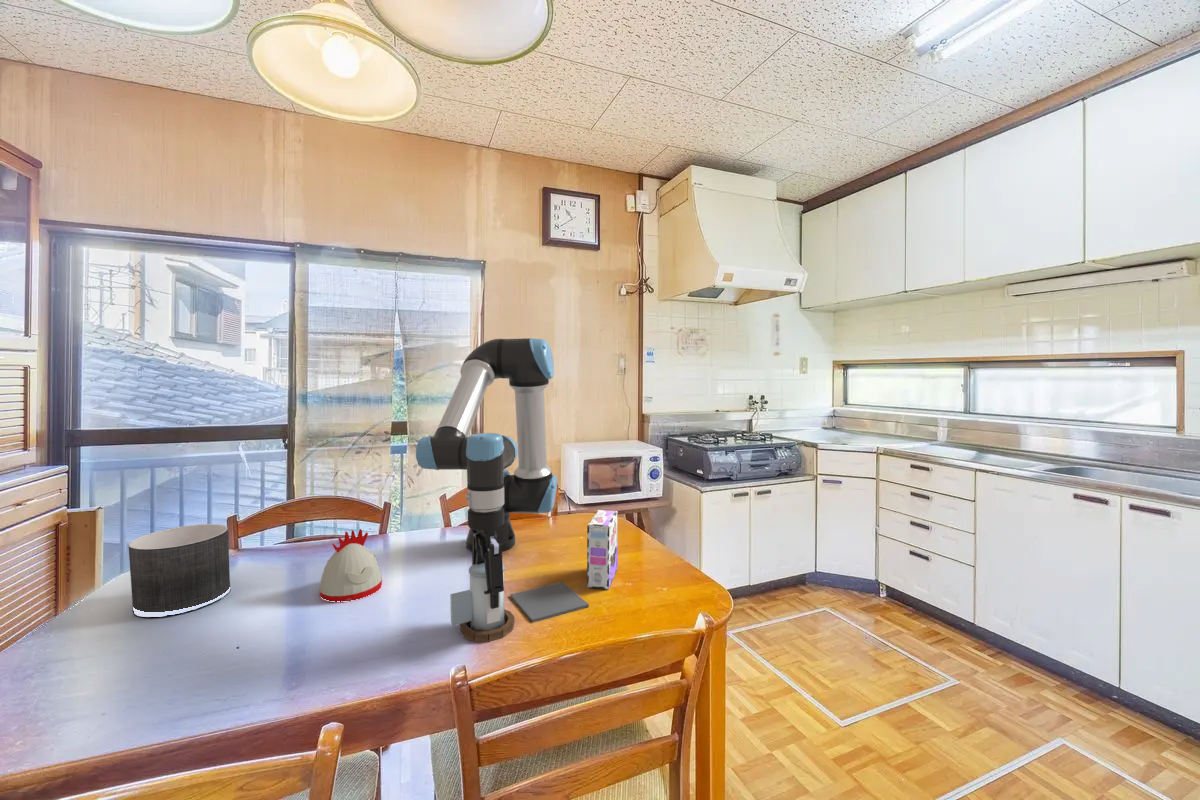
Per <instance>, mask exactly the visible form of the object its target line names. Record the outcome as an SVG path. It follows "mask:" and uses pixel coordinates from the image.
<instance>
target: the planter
mask: <svg viewBox="0 0 1200 800" xmlns="http://www.w3.org/2000/svg"><path fill="white" fill-rule="evenodd" d="M229 546H230V545H229V528H228V526H226V525H224V524H220V523H219V524H217V523H203V524H202V523H201V524H191V525H183V526H178V527H172V528H168V529H167V528H166V529H162V530H157V531H154V532H150V533H148V534H145V535H141V536H139V537H137V538H134V539H133V540H131V541H130V542H129V543H128V558H129V573H130V587H131V602H132V606H133V607H134V608H135V609H137V610H140V611H144V612H165V611H173V610H179V609H183V608H188V607H192V606H196V605H199V604H202V603H205V602H208V601H210V600H213V599H215V598H217V597H218V596H220V595H222V594H223V593H225V592H226V591H227V590H228V589H229V587H231V580H230V579H231V576H230V573H231V572H230V549H229Z"/></svg>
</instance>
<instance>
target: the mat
mask: <svg viewBox="0 0 1200 800" xmlns="http://www.w3.org/2000/svg"><path fill="white" fill-rule="evenodd" d="M509 595H510V596H509V597H510V599H512V601H513V602H514V603H515V604H516V605H517V606H518V607H519V609H520V610H521V611H522V612H523V613H524V615H525V616H526V617H527V618H528V619H529V620H530V621H531V623H535V622H539V621H542V620H546V619H550V618H553V617H557V616H560V615H564V614H567V613H571V612H575V611H579V610H582V609H585V608H589V605H590V604H589V603H588V602H587V601H586V600H584V599H583V598H582V597H581V596H580V595H579V594H577V593H576V592H575V591H574V590H573V589H572V588H570V587H569V586H568V585H567V584H565V582H564V581H560V582H556V583H555V582H554V583H551V584H548V585H544V586H539V587H535V588H530V589H526V590H523V591H519V592H515V593H510V594H509Z"/></svg>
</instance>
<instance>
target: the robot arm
mask: <svg viewBox="0 0 1200 800" xmlns="http://www.w3.org/2000/svg"><path fill="white" fill-rule="evenodd" d="M554 365H555V364H554V358H553V353H552V349H551V345H550V344H549V342H548V341H547V340H545V339H542V338H533V337H530V338H494V339H490V340H488V341H486V342H484V343H482V344H480V345H479V346H477V347H476V348H475V349H474V350H472V351H471V352H470V353H469V354H468V355H467V356H466V358H465V359H464V361H463V363H462V365H461V367H460V371H459V372H460V378H459V381H458V383H457V385H456V387H455V389H454V391H453V393H452V396H451V398H450V400H449V402H448V405H447V407H446V409H445V411H444V414H443V415H442V417H441V419H440V422H439V424H438V426H437V429H436V431H435V433H434V434H433V436H431V435H429V436H423V437H421V438H420V439H419V440H418V442H417V444H416V446H415V447H416V448H415V459H416V462H417V465H418V466H419V467H420V468H422V469H426V470H436V471H439V470H443V471H444V470H445V471H447V470H463V471H464V470H466V485H467V486H466V487H467V488H466V489H467V493H465V495H464V498H465V499H466V500H467V507H468V510H467V526H468V528H469V530H468V533H467V536H466V543H465V544H466V545H465V547H466V549H467V550H468V551H470V552H471V553H472V554H471V566H472V565H474V564H476V563H477V564H479V563H485V572H486V581H487V591H484V594H485V595H486V623H487V624H489V623H493V622H497V621H500V592H502V591H504V592H505V582H504V583H503V564H504V563H503V552H504V551H506V550H509V549H512V548H513V547H514V546H515V545H516V534H515V530H514V528H513V525H512V523H511V519H510V517H511V516H510V514H537V515H538V514H548V513H551V511H552V510H553V508H554V505H555V501H556V498H557V497H556V495H557V491H558V490H557V489H558V476H557V475H555V474H553V472H552V468H551V466H549V465H548V464H547V441H546V439H547V438H546V435H547V434H546V412H545V411H546V410H545V389H546V388H547V387H548V386H549V383H550V380H551V379H553V378H554V375H555V368H554V367H555V366H554ZM496 379H508V384H509V387H511V388H512V389H513V391H514V401H515V402H514V403H515V421H516V436H517V437H516V440H517V441H516V442H517V443H516V442H515V440H514V439H513V438H512V437H510V436H508V435H504V434H503V435H502V434H500V433H497V432H495V433H494V432H482V433H481V432H480V433H473V434H470V432H471V431H472V427H473V425H474V422H475V420H476V417H477V415H478V412H479V409H480V407H481V404H482V402H483V399H484V396H485V393H486V391H487V389H488V387H489V386H491V385H492V384H493V382H494V380H496ZM517 458H518V460H517V462H518V463H517V464H518V466H517V468H515V470H514V471H513V474H511V473H510V471H509V469H506V468H509V467H510V466H512V464H514V462H515V460H516V459H517ZM502 563H503V564H502Z"/></svg>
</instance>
